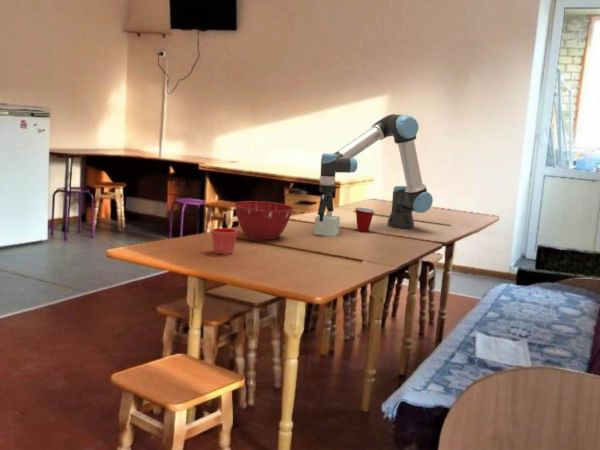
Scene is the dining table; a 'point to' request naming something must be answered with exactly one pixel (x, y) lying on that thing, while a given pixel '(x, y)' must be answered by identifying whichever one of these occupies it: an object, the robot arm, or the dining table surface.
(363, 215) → the plastic cup
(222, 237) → the flower pot
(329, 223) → the pale green brick
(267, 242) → the dining table surface
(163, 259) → the dining table surface
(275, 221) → the mixing bowl
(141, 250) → the dining table surface
